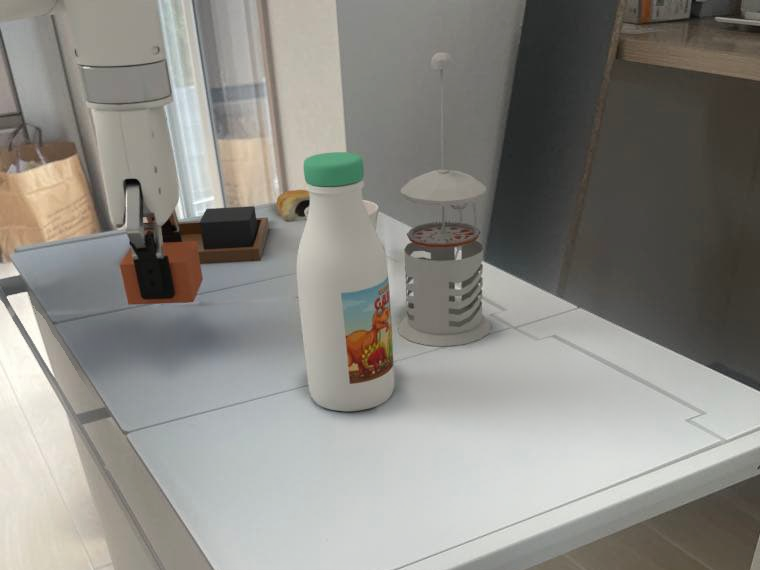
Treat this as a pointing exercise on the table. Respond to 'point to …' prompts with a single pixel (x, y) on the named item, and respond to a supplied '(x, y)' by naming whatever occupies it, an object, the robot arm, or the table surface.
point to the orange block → (182, 270)
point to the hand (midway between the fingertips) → (165, 283)
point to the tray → (226, 255)
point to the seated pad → (228, 227)
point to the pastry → (293, 204)
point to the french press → (444, 257)
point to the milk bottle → (343, 290)
